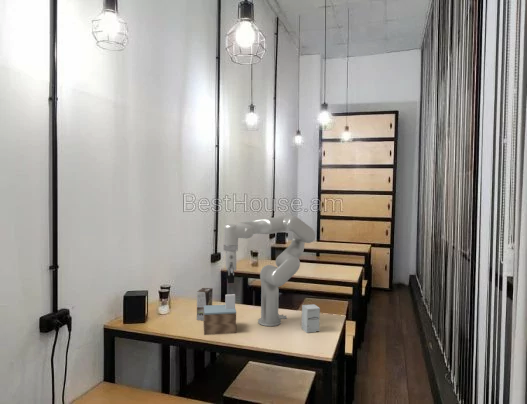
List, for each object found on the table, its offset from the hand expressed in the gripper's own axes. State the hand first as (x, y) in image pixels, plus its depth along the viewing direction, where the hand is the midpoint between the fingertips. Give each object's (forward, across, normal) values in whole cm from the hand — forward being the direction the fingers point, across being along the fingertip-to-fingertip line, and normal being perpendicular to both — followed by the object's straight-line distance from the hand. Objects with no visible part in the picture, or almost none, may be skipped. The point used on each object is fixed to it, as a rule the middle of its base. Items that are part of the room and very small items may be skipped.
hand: (229, 280), depth 191 cm
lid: (+15, 0, +5) cm, 16 cm away
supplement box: (+25, -8, -42) cm, 50 cm away
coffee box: (+26, +19, +12) cm, 34 cm away
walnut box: (+26, 0, +5) cm, 26 cm away
